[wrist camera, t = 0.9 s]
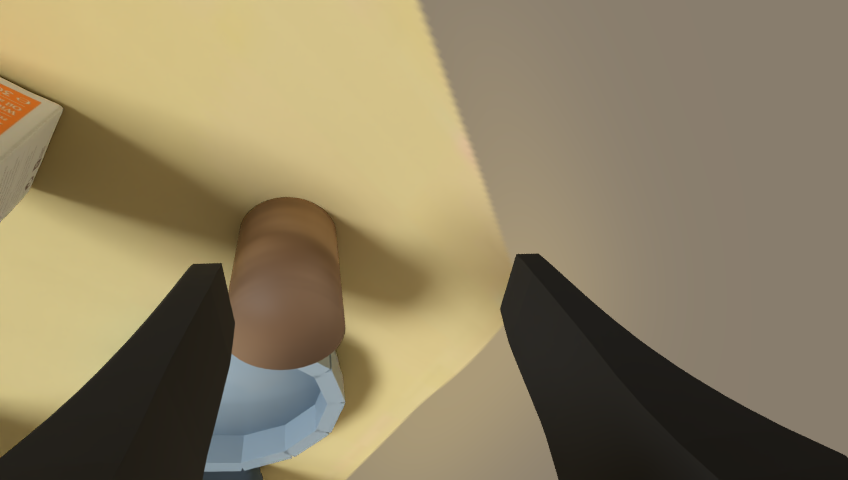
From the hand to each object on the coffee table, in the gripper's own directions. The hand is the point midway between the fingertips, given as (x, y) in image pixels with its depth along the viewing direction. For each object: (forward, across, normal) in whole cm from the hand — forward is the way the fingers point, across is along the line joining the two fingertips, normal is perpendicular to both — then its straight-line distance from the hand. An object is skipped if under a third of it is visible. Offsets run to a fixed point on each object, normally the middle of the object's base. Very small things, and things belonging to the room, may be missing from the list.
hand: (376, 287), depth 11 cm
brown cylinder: (+9, +3, +6) cm, 11 cm away
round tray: (+9, +7, +16) cm, 19 cm away
